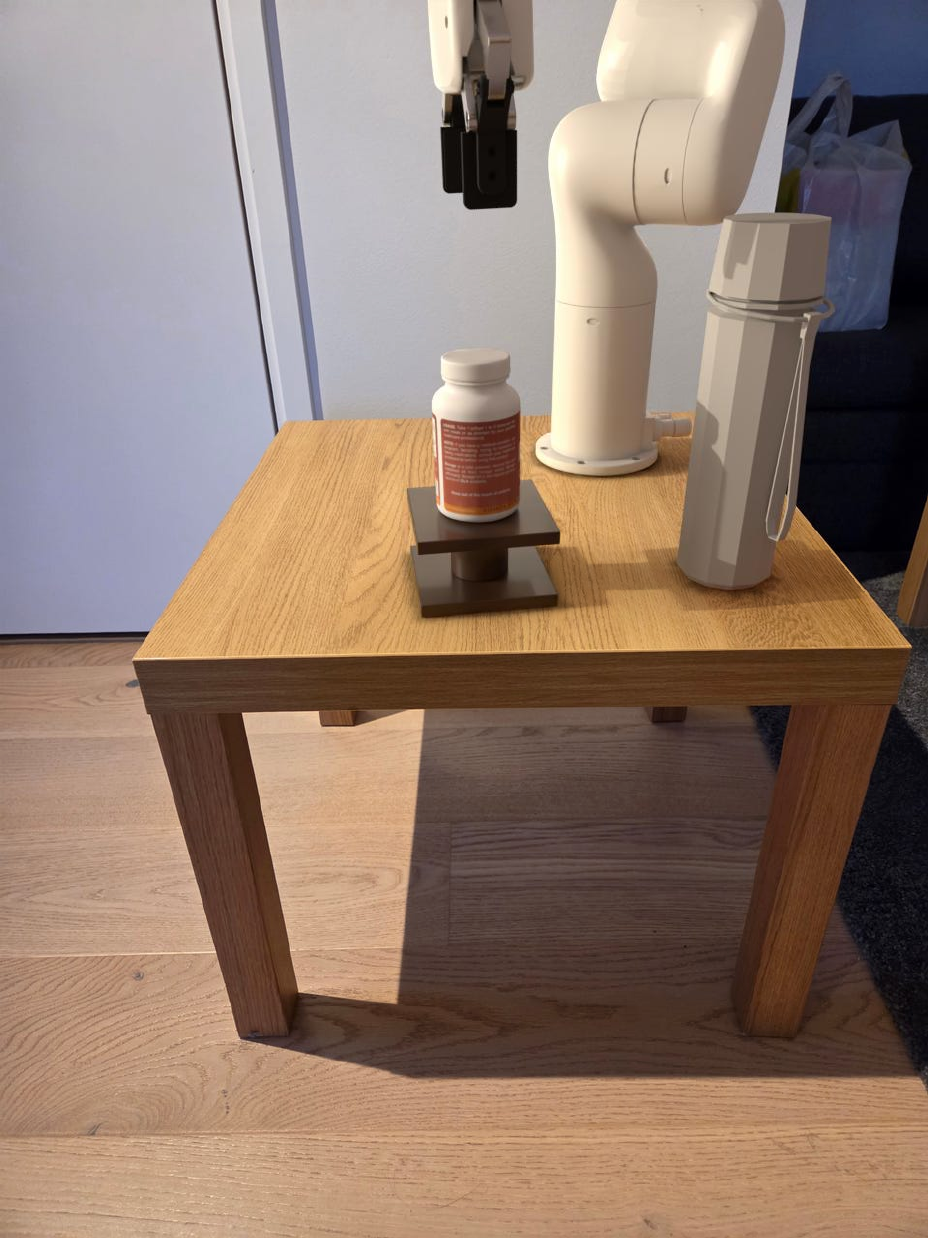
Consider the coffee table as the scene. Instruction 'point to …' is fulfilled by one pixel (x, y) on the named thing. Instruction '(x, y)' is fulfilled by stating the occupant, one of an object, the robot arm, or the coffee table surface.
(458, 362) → the pill bottle
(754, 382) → the water bottle
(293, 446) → the coffee table surface
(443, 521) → the stand
